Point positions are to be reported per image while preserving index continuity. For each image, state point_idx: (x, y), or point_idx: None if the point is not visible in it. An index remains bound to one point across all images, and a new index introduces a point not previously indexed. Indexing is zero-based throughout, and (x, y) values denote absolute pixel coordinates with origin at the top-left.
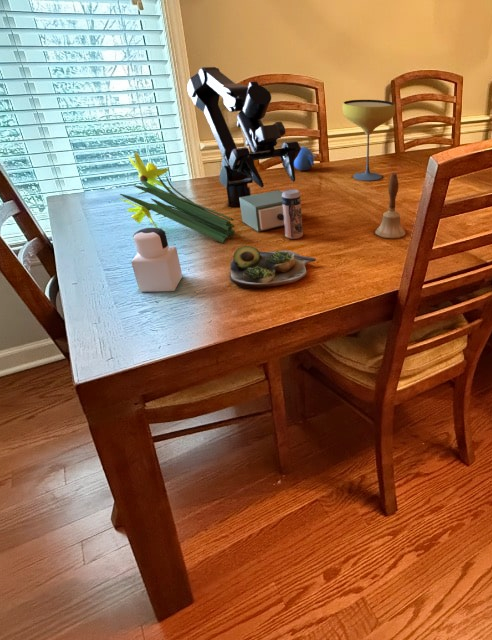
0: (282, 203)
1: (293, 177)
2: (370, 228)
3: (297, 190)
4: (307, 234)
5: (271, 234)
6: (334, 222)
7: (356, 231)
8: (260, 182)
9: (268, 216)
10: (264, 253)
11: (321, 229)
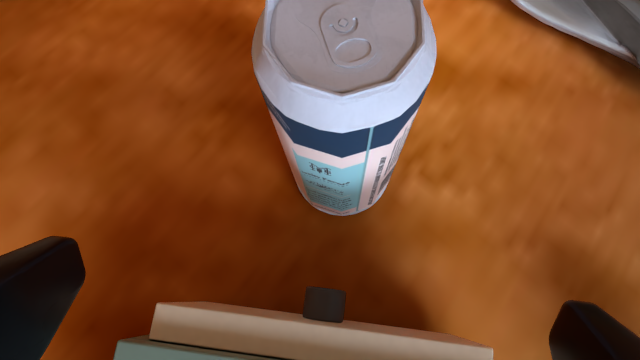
0: (258, 357)
1: (47, 248)
2: (21, 27)
3: (266, 15)
4: (274, 152)
5: (416, 277)
6: (59, 190)
7: (89, 39)
8: (637, 336)
9: (411, 333)
10: (622, 15)
11: (178, 158)
